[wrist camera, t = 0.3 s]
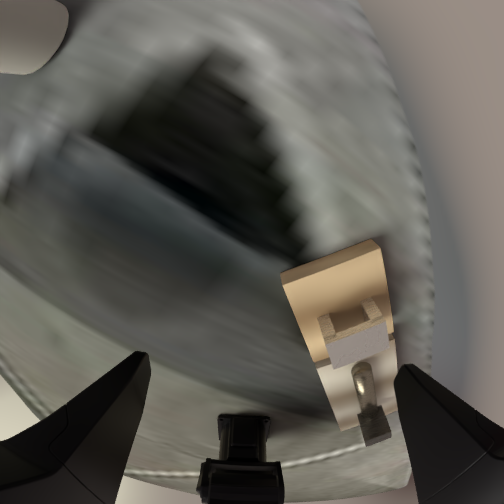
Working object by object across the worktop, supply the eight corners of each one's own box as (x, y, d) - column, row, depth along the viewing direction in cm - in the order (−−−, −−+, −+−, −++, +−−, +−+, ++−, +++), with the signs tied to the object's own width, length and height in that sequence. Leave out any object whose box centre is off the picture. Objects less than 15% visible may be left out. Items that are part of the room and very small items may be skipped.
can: (59, -7, 12) (-20, -41, 1) (85, 29, 15) (-10, -8, 4) (10, 49, 14) (-75, 41, 3) (30, 90, 16) (-70, 93, 5)
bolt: (380, 407, 28) (391, 437, 24) (357, 415, 28) (366, 447, 24) (372, 357, 24) (388, 393, 20) (343, 368, 25) (356, 406, 20)
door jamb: (394, 398, 31) (398, 409, 29) (338, 419, 32) (340, 431, 30) (370, 238, 22) (380, 248, 20) (280, 273, 23) (282, 285, 21)
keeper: (376, 323, 23) (389, 348, 20) (325, 342, 24) (333, 369, 21) (371, 296, 22) (386, 321, 19) (316, 317, 23) (325, 344, 19)
